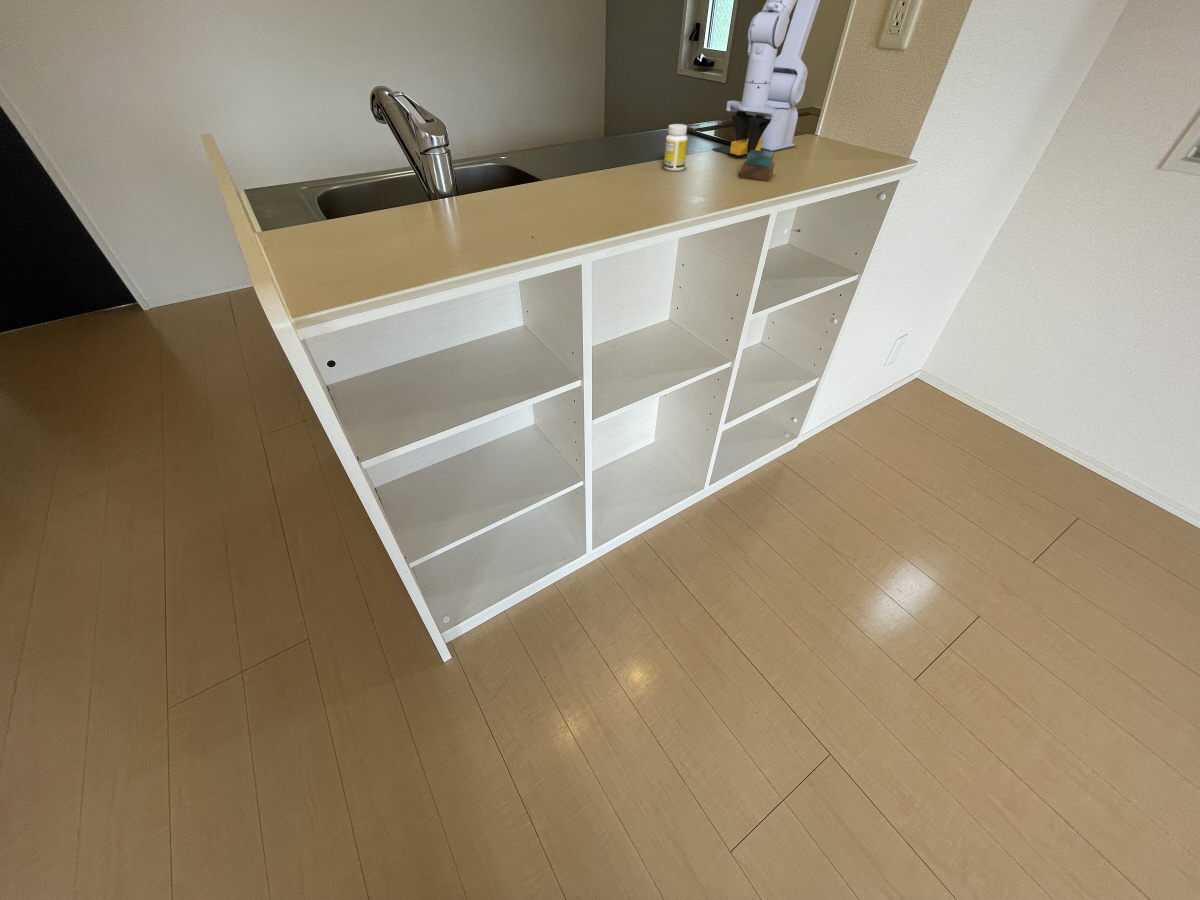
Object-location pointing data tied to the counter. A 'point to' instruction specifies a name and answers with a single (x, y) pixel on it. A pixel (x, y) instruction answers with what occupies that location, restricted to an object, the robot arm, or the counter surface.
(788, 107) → the robot arm
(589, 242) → the counter surface
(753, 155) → the two-tone stacked block
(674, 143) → the supplement bottle
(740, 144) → the bar
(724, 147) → the mat
